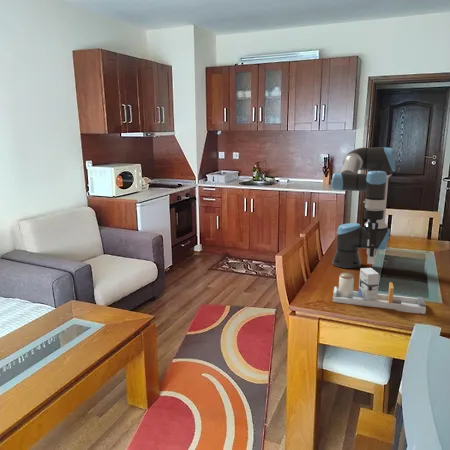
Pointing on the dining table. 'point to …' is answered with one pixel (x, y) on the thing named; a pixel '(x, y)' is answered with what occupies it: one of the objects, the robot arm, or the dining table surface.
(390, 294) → the pusher
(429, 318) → the dining table surface
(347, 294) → the jar
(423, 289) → the dining table surface
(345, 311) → the dining table surface
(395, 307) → the tray
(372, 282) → the ink box
